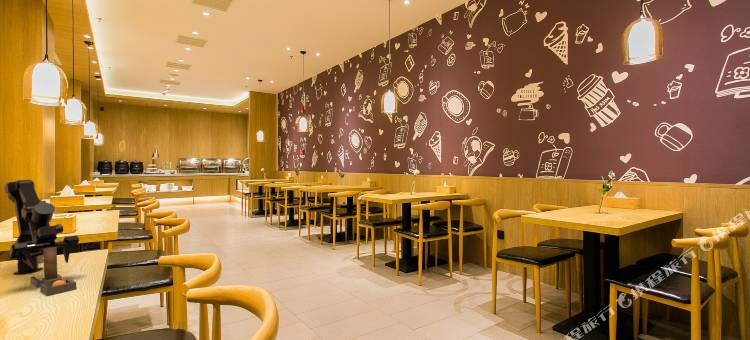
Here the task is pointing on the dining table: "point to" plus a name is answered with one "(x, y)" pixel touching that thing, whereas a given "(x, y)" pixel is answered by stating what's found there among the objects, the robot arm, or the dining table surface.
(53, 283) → the ball
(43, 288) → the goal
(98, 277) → the dining table surface
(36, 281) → the track
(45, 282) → the slider
